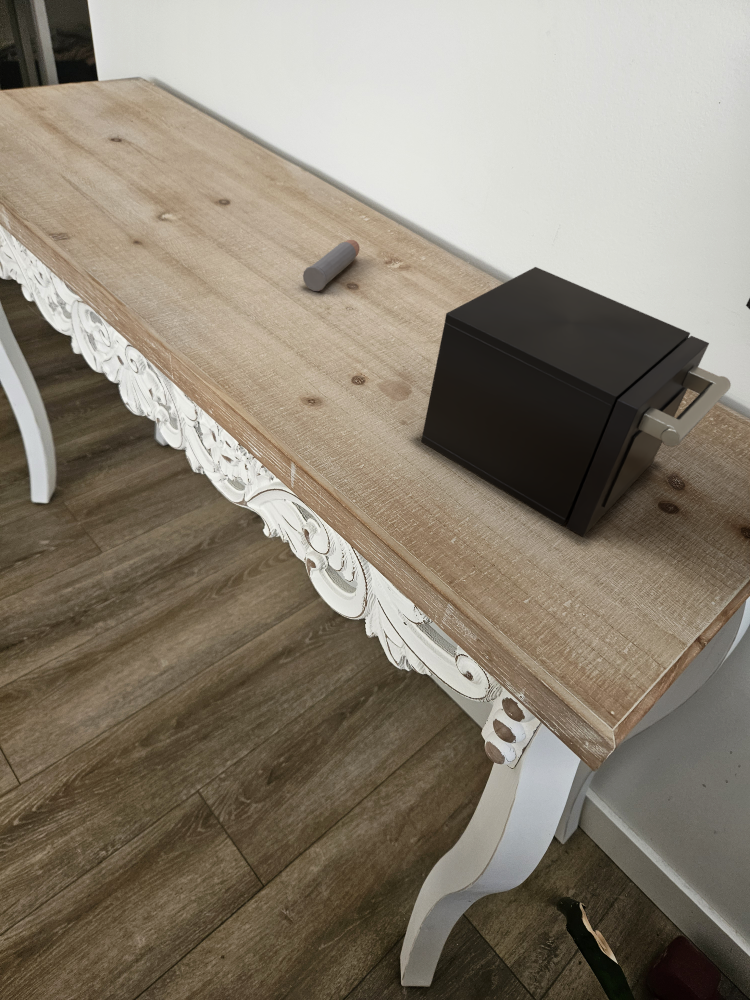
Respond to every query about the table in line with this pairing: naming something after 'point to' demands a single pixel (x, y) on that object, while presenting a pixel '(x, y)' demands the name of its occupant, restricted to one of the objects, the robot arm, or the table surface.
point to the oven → (537, 384)
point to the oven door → (646, 428)
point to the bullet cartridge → (330, 265)
